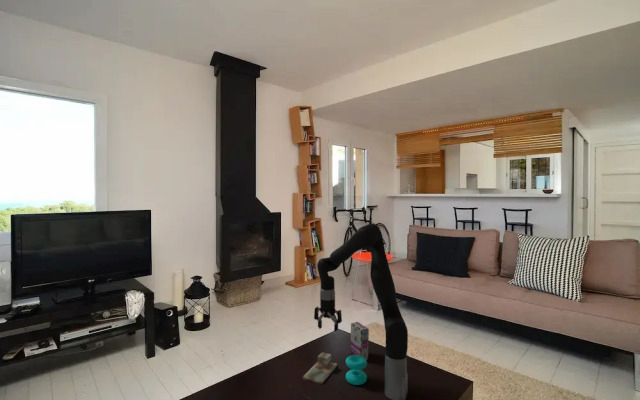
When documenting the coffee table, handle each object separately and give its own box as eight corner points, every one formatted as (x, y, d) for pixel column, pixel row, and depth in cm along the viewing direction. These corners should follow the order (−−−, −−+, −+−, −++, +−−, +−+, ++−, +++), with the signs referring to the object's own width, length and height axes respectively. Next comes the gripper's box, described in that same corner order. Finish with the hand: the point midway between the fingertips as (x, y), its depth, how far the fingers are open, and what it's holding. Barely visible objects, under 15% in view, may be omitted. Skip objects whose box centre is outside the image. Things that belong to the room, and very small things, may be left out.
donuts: (341, 360, 148) (351, 351, 156) (341, 381, 148) (351, 372, 156) (361, 366, 143) (370, 357, 151) (361, 388, 143) (370, 378, 151)
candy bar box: (369, 359, 169) (369, 328, 169) (361, 361, 167) (361, 330, 167) (357, 350, 179) (358, 321, 179) (350, 352, 177) (350, 322, 177)
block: (331, 364, 161) (331, 354, 161) (326, 368, 157) (326, 358, 157) (322, 361, 164) (322, 352, 164) (317, 366, 159) (317, 356, 159)
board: (337, 365, 162) (337, 363, 162) (322, 384, 146) (322, 381, 146) (319, 361, 167) (319, 359, 167) (303, 378, 150) (303, 376, 150)
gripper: (343, 297, 161) (343, 329, 161) (318, 293, 167) (318, 324, 167) (337, 301, 154) (338, 334, 154) (311, 297, 160) (312, 329, 160)
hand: (327, 329), depth 160 cm, fingers open, 8 cm apart
